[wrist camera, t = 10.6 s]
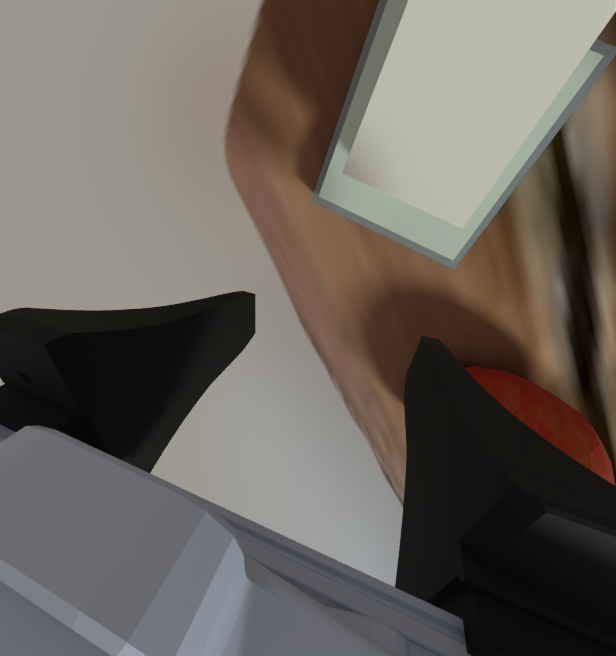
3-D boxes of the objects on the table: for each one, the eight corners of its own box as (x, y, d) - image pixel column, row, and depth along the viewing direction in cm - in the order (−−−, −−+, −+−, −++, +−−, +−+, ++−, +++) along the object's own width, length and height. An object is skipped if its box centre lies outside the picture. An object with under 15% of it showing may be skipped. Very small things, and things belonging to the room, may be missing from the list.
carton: (506, 93, 11) (644, -30, 5) (436, 207, 14) (462, 229, 8) (423, 59, 12) (447, -101, 5) (371, 177, 14) (341, 173, 8)
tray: (590, 67, 12) (629, 42, 10) (449, 261, 17) (455, 271, 15) (394, -11, 13) (392, -49, 11) (319, 199, 18) (308, 201, 16)
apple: (597, 373, 18) (781, 556, 9) (514, 461, 24) (578, 627, 15) (435, 332, 20) (458, 448, 11) (395, 422, 26) (390, 545, 17)
